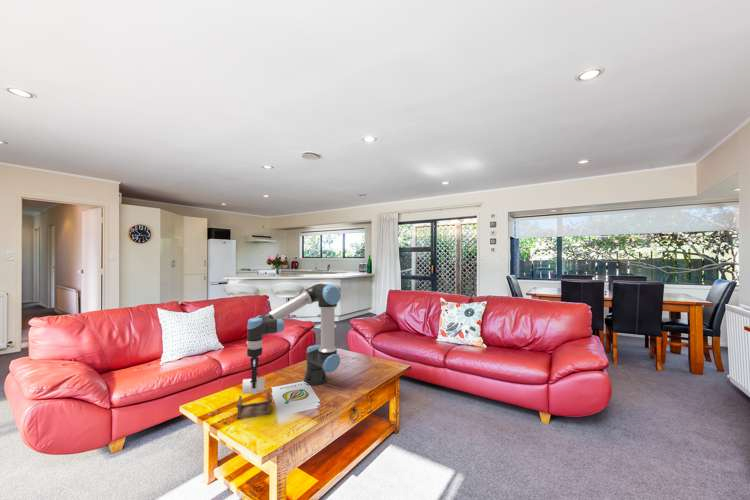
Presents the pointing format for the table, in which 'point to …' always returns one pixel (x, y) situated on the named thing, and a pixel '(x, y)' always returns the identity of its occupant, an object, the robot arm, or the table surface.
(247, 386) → the roll
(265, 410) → the holder
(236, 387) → the table surface
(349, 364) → the table surface
